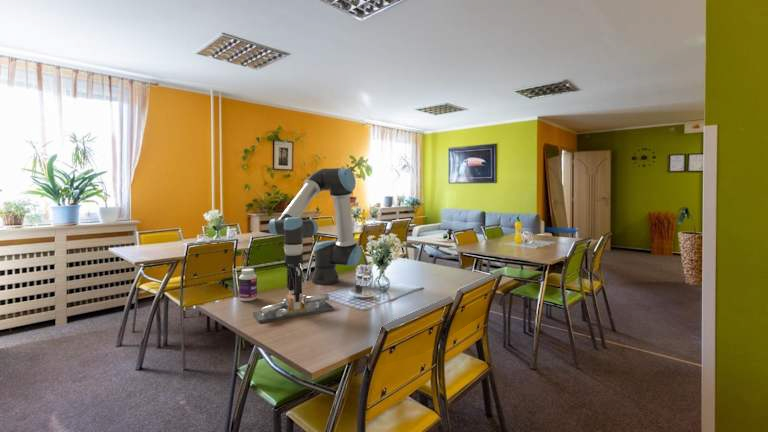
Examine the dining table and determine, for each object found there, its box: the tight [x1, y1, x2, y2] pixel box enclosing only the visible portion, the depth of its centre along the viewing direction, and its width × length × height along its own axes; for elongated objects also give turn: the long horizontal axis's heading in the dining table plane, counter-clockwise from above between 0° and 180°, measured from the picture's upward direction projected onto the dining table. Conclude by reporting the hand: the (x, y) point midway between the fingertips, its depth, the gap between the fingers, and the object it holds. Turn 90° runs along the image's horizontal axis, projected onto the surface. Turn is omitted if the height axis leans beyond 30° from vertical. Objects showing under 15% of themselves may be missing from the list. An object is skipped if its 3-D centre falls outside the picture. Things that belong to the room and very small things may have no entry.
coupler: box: [286, 294, 302, 310], centre depth 158 cm, size 5×5×6 cm
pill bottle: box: [238, 268, 258, 302], centre depth 176 cm, size 8×8×14 cm
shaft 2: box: [301, 293, 330, 307], centre depth 163 cm, size 11×5×6 cm, turn 122°
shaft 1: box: [259, 298, 290, 319], centre depth 151 cm, size 11×5×6 cm, turn 142°
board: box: [252, 301, 335, 324], centre depth 158 cm, size 32×11×4 cm, turn 122°
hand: (294, 306), depth 159 cm, fingers open, 5 cm apart
